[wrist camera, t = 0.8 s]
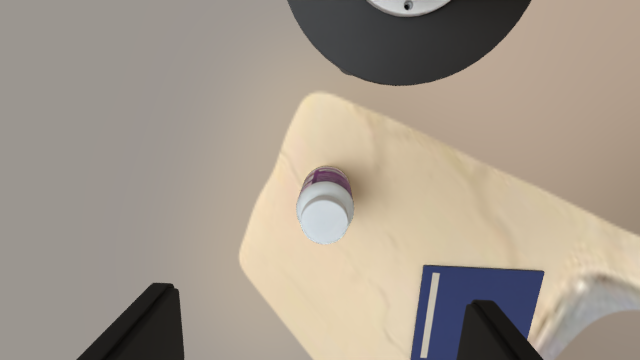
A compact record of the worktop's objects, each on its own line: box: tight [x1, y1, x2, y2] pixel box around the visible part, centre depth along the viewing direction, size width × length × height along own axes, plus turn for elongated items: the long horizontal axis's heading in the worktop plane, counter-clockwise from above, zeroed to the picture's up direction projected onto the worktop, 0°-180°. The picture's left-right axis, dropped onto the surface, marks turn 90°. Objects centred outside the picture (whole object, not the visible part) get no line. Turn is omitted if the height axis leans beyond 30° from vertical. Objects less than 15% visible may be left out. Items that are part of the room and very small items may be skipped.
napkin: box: [411, 265, 544, 360], centre depth 38 cm, size 14×14×1 cm
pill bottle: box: [296, 166, 354, 244], centre depth 30 cm, size 5×5×10 cm
